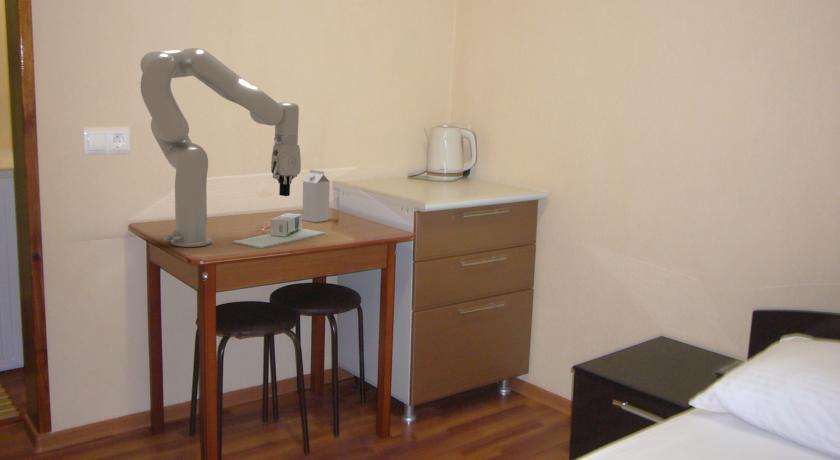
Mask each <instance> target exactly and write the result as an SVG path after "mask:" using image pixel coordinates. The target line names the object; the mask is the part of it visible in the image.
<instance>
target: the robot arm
mask: <svg viewBox="0 0 840 460" xmlns="http://www.w3.org/2000/svg"><path fill="white" fill-rule="evenodd" d="M139 65H140V70H141V72H142V75H141V78H140V93H141V97H142V100H143V102H144V104H145V107H146V108H147V111H148V112H149V116H150V117H151V121H150V129H151V132H152V135H153V136H154V137H153V138H155V141H156V142H157V144H158V146H159V147H160V150H161V151H162V153H163V155H164V157H165V159H166V160H167V162H168V163H169V164H170V165H171V167H173V168H174V169H175V176H174V178H175V179H174V207H175V208H174V211H175V214H174V219H175V229H172V232H171V233H169V234H164V235H163V237H162V239H163V241H164V242H169V241H170V244H171V245H172V246H175V247H181V248H183V247H184V248H186V247H187V248H196V247H197V248H198V247H206V246H209V245H212V243H213V239H212V237H209V236H208V219H207V218H208V217H207V216H208V213H207V212H208V211H207V210H208V209H207V207H208V206H207V203H208V202H207V196H208V195H207V186H208V185H207V182H208V181H207V180H208V179H207V178H208V172H209V171H208V170H209V158H208V154H207V152H206V151H205V149H204V148H203V147H202V146H200V145H199V144H196V143H193V142H192V141H191V138H190V136H189V133H190V125H189V122H188V121H187V118H186V117H185V116H184V114H183V112H182V110H181V108H180V106H179V105H178V102H177V101H176V99H175V96H174V95H173V92H172V89H171V88H172V87H171V83H172V80H173V79H177V78H186V77H187V78H188V77H195V78H196V79H197V80H198V81H200V82H201V83H202V84H204V85H205V86H207V88H209V89H211V90H212V91H213V92H215V93H216V94H217V95H218V96H220V97H222V98H223V99H225V100H227V101H229V102H232V103H234V104H236V105H239V106H240V107H243V108H245V109H246V110H248V111H249V115H250V118H251V119H252V120H253V122H255V123H257V124H260V125H265V126H274V139H273V140H274V144H273V146H272V152H271V164H270V165H271V166H270V168H271V169H270V171H271V173H272V179H275V180H277V182H278V184H279V190H278V191H279V193H278V195H279V196H283V197H290V194H291V184H292V181H293V179H295V178H297V177H298V175H299V174H300V173H301V171H302V169H301V168H302V166H301V165H302V163H301V161H302V160H301V148H300V145H299V143H298V141H299V139H298V138H299V117H300V115H299V113H300V112H299V111H300V108H299V105H298V104H297V103H293V102H277V101H275V99H273V97H271V96H269V94H267V93H265V92H264V91H263V90H261V89H260V88H258V87H256V86H255V85H254V84H252V83H250V82H249V81H247V80H246V79H245V78H243V77H242V76H240V75H238V74H237V73H236V72H235V71H234V70H232V69H231V68H229V67H228V66H227V65H225V63H223V62H222V61H220V60H219V59H217V58H216V57H215V56H214V55H213V54H211V53H210V52H208V51H207V50H206V49H203V48H200V47H199V48H198V47H193V48H191V47H190V48H184V49H177V50H176V49H175V50H161V51H150V52H148V53H146V54H144V55H143V56H142V58H141V60H140V64H139Z"/></svg>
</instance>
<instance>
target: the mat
mask: <svg viewBox="0 0 840 460" xmlns="http://www.w3.org/2000/svg"><path fill="white" fill-rule="evenodd" d="M325 234H326V232H325V231H318V230H313V229H307V228H303V227H302V230H300V231H298V232H296V233H293V234H291V235H289V236H287V237H282V236H271V233H267V234H262V235H257V236H252V237H247V238H243V239H238V240H237V239H236V240H232V244H235V245H240V246H246V247H250V248H255V249H265V247H266V248H270V247H274V246H278V245H282V244H287V243H292V242H297V241H300V240H305V239H310V238H314V237H318V236H323V235H325Z"/></svg>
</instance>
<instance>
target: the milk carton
mask: <svg viewBox="0 0 840 460" xmlns="http://www.w3.org/2000/svg"><path fill="white" fill-rule="evenodd" d="M324 173H325V172H324V171H322V170H313V169H309V173H308V174H307V175H306V177H305V178H304V179H303V181H302V221H306V222H312V223H321V222H327V221H329V220H330V185H331V184H330V182H331V181H330V180H329V179H328V178H327V176H325V174H324Z"/></svg>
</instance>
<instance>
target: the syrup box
mask: <svg viewBox="0 0 840 460" xmlns="http://www.w3.org/2000/svg"><path fill="white" fill-rule="evenodd" d="M269 222H270V234H271V236H282V237H287V236H289V235H291V234H293V233H296V232H298V231H300V230H302V228H303V213H292V212H285V213H283V214H281V215H280V214H279V216H275V217H273V218H271V219H270V221H269Z"/></svg>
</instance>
